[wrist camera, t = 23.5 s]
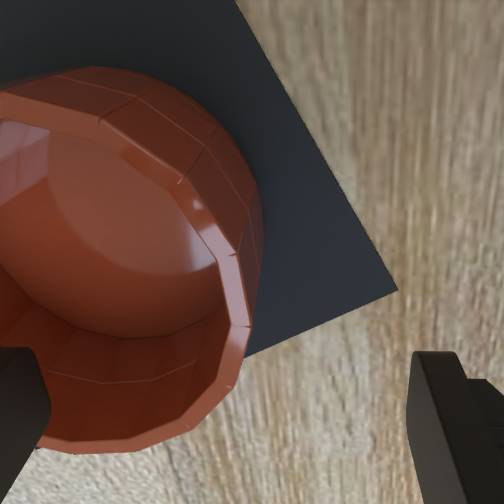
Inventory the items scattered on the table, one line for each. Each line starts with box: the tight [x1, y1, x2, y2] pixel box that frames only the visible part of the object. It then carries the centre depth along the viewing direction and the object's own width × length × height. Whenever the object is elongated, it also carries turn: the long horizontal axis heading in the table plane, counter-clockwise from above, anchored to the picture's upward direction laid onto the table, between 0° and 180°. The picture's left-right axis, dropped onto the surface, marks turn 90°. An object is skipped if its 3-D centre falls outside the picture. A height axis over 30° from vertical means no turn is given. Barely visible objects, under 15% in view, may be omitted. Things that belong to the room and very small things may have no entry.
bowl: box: [0, 65, 265, 455], centre depth 16 cm, size 11×11×6 cm
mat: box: [0, 0, 398, 450], centre depth 18 cm, size 20×20×1 cm
